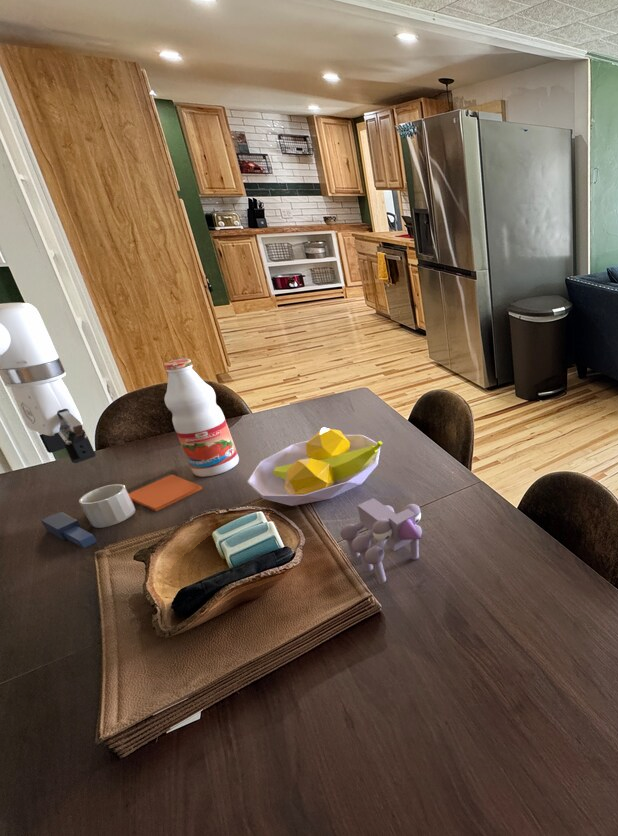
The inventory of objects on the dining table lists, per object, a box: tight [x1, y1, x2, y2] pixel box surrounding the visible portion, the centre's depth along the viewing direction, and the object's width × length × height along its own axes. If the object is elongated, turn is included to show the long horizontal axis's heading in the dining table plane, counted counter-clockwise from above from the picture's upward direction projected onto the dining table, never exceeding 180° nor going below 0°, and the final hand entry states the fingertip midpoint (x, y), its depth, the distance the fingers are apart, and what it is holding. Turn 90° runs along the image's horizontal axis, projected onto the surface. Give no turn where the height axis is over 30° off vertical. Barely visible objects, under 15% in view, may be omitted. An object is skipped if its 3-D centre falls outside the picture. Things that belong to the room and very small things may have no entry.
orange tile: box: [128, 474, 203, 512], centre depth 107 cm, size 9×12×1 cm
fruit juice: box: [163, 358, 240, 478], centre depth 112 cm, size 9×9×28 cm
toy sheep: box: [339, 497, 423, 585], centre depth 84 cm, size 20×11×14 cm, turn 53°
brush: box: [40, 511, 98, 549], centre depth 94 cm, size 3×14×3 cm, turn 66°
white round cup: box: [78, 483, 137, 529], centre depth 99 cm, size 7×7×6 cm
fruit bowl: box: [246, 427, 384, 507], centre depth 109 cm, size 28×27×11 cm
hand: (71, 454), depth 92 cm, fingers open, 9 cm apart
